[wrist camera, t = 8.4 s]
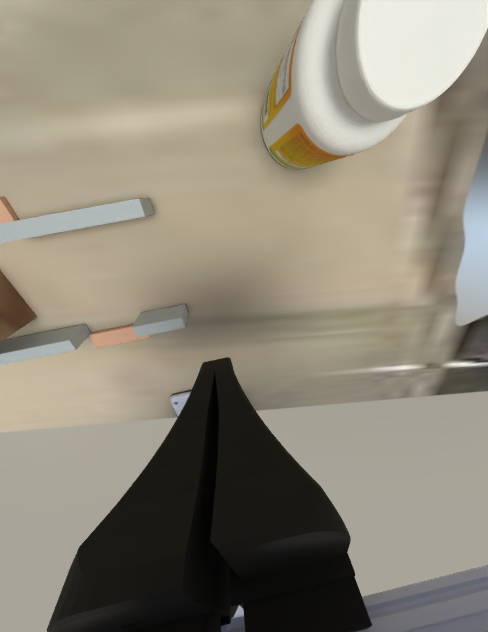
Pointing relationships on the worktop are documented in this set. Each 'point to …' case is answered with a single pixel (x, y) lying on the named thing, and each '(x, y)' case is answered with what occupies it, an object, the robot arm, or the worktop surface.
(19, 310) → the walnut block
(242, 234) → the worktop surface
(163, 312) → the channel
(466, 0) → the supplement bottle
